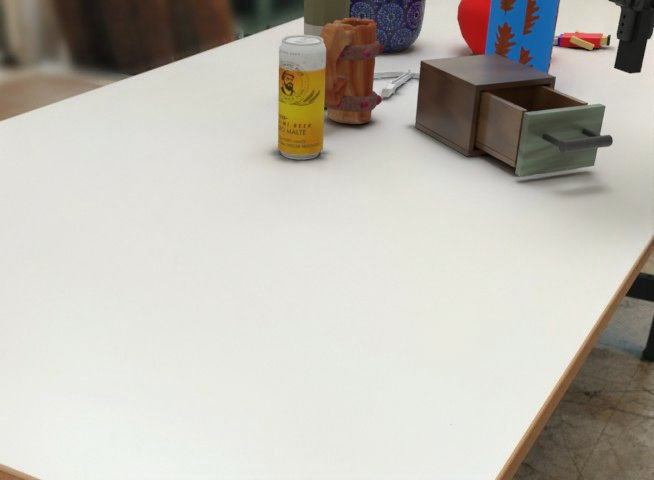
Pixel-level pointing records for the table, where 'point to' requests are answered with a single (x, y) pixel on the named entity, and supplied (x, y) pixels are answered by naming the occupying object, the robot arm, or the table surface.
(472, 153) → the cabinet
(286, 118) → the beer can
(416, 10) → the planter
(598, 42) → the toy figure
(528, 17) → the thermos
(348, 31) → the mug
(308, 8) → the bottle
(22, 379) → the table surface
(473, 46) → the vase
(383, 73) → the crossbow
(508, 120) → the drawer
